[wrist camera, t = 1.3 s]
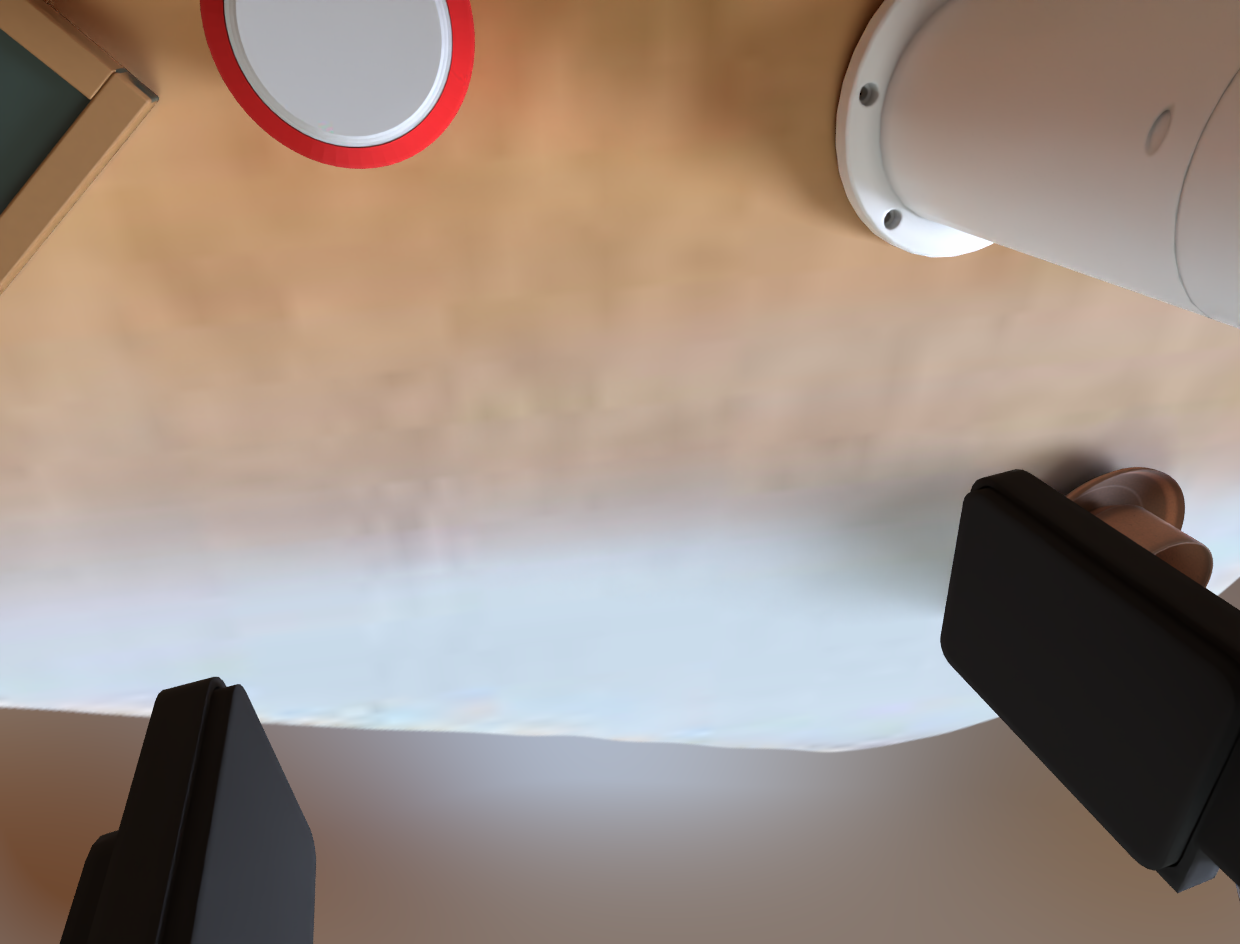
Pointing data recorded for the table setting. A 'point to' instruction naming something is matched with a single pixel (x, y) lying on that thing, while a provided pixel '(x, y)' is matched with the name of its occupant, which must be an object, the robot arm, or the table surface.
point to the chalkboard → (54, 123)
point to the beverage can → (345, 72)
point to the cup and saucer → (1147, 516)
